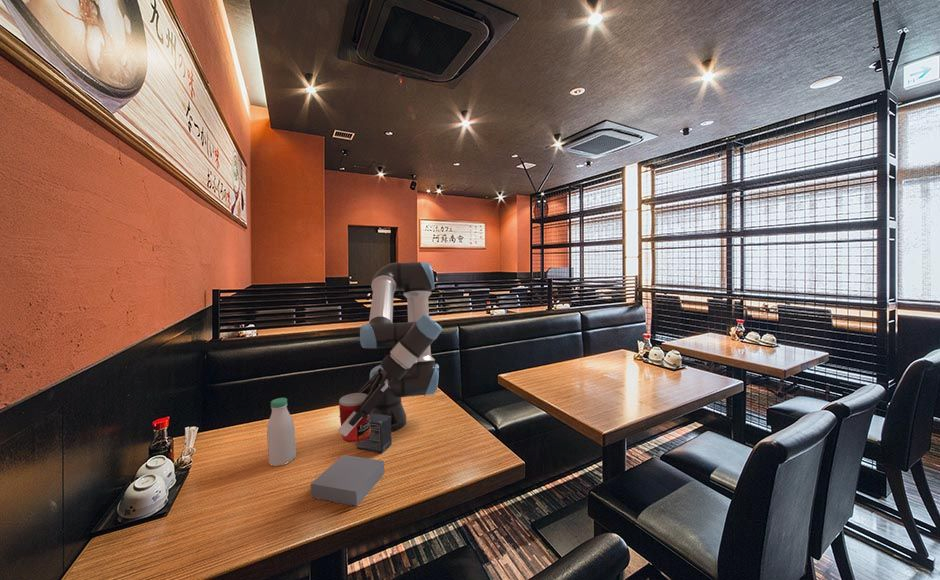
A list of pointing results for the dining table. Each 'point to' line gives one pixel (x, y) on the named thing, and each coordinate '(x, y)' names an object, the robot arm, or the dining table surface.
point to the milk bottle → (280, 434)
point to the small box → (377, 434)
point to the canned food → (346, 409)
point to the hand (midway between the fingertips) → (342, 425)
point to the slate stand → (348, 480)
